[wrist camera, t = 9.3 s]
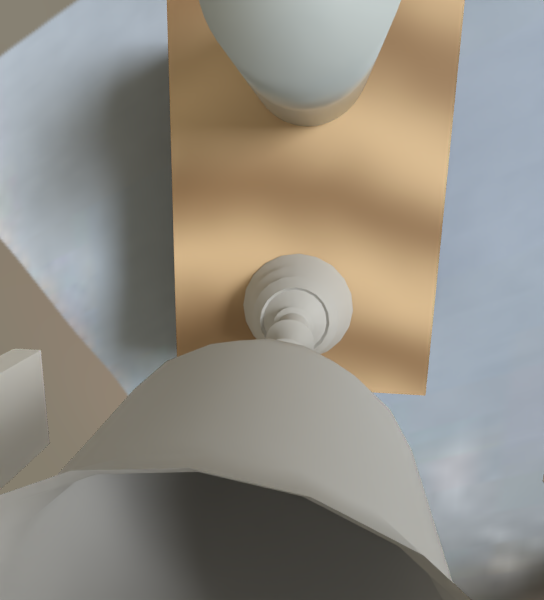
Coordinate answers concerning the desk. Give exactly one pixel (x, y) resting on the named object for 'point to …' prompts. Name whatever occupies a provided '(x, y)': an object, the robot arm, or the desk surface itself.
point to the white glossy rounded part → (302, 51)
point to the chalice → (238, 476)
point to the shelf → (316, 190)
